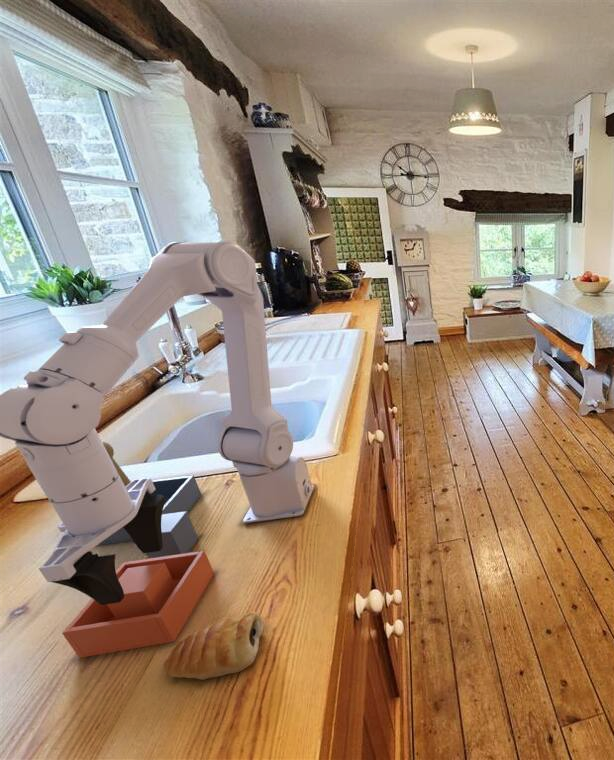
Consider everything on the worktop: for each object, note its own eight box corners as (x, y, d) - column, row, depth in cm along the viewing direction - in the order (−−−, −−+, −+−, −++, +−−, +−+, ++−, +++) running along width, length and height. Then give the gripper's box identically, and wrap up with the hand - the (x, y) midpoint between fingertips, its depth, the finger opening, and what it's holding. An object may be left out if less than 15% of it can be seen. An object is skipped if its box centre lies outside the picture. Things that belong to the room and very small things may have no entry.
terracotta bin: (214, 573, 59) (204, 550, 57) (174, 641, 50) (160, 616, 48) (135, 585, 57) (122, 562, 56) (78, 658, 48) (61, 633, 46)
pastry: (158, 699, 44) (144, 677, 42) (182, 641, 50) (171, 620, 48) (256, 669, 46) (247, 646, 45) (268, 617, 52) (260, 596, 51)
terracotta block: (179, 592, 56) (164, 562, 53) (160, 622, 52) (143, 591, 49) (143, 598, 55) (127, 568, 53) (121, 628, 51) (102, 597, 49)
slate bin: (201, 494, 75) (193, 475, 74) (169, 535, 66) (159, 513, 64) (140, 502, 74) (130, 482, 72) (99, 544, 65) (86, 523, 63)
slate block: (198, 538, 65) (186, 511, 63) (183, 559, 61) (170, 531, 59) (168, 542, 65) (155, 515, 63) (151, 564, 61) (136, 536, 59)
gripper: (93, 454, 52) (136, 536, 57) (-23, 540, 38) (48, 635, 44) (155, 447, 52) (191, 528, 58) (63, 528, 39) (121, 623, 45)
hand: (134, 574), depth 51 cm, fingers open, 7 cm apart
